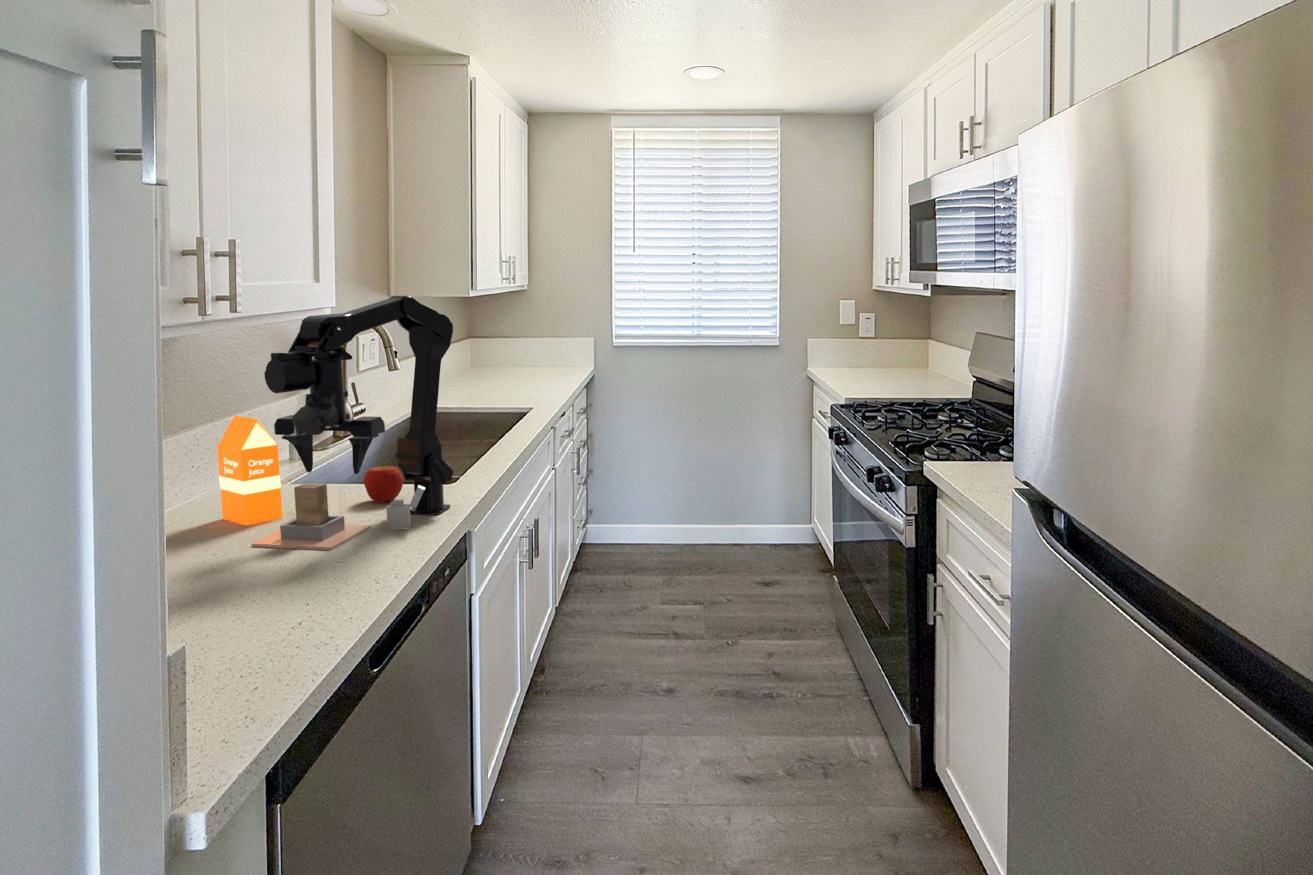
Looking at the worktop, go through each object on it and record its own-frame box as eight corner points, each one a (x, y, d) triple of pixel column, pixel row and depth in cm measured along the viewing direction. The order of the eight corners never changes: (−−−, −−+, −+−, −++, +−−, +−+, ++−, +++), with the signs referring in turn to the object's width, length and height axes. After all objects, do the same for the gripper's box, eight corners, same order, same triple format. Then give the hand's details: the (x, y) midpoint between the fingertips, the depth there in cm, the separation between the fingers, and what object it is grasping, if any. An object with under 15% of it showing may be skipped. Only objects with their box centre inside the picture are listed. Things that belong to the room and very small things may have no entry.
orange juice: (246, 525, 179) (238, 421, 175) (221, 518, 184) (213, 417, 181) (283, 517, 185) (276, 416, 181) (259, 511, 190) (252, 413, 187)
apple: (362, 498, 201) (360, 462, 199) (400, 495, 204) (398, 459, 203) (368, 506, 194) (366, 469, 192) (406, 502, 197) (405, 466, 196)
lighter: (387, 529, 176) (385, 487, 174) (388, 527, 177) (386, 485, 176) (426, 527, 177) (424, 486, 175) (426, 525, 178) (425, 484, 177)
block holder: (297, 524, 179) (296, 509, 179) (371, 527, 177) (370, 512, 176) (251, 546, 164) (250, 529, 164) (331, 550, 162) (330, 533, 162)
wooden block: (309, 530, 173) (306, 482, 171) (329, 531, 172) (326, 483, 171) (297, 536, 169) (294, 487, 167) (318, 537, 168) (314, 488, 167)
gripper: (252, 392, 161) (259, 481, 163) (352, 393, 157) (359, 484, 160) (288, 384, 171) (295, 467, 174) (383, 385, 168) (388, 470, 171)
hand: (332, 472), depth 169 cm, fingers open, 9 cm apart
